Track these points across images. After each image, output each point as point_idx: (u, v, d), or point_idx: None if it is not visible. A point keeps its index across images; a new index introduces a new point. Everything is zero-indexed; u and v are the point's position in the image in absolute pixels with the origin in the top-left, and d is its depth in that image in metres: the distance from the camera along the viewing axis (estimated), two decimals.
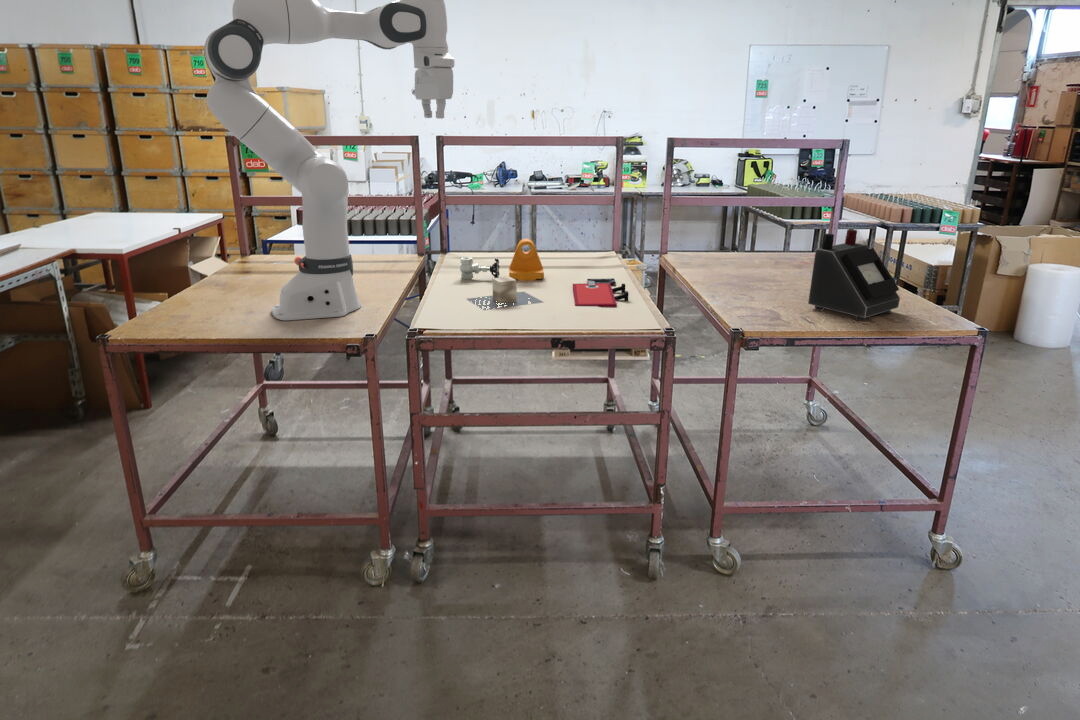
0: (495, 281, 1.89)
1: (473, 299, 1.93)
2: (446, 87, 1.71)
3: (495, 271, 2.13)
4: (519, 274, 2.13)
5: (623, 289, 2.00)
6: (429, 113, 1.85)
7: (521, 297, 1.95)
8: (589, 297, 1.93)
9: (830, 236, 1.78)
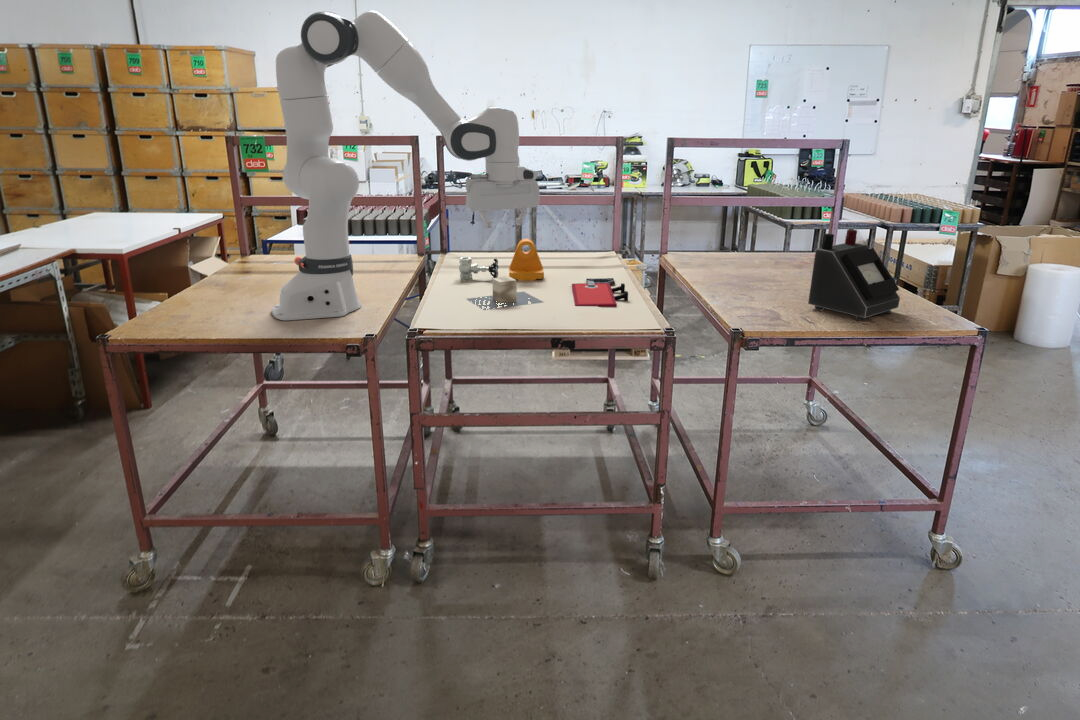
0: (495, 281, 1.89)
1: (473, 299, 1.93)
2: None
3: (494, 271, 2.13)
4: (519, 274, 2.13)
5: (622, 289, 2.00)
6: None
7: (521, 297, 1.95)
8: (588, 297, 1.93)
9: (830, 236, 1.78)
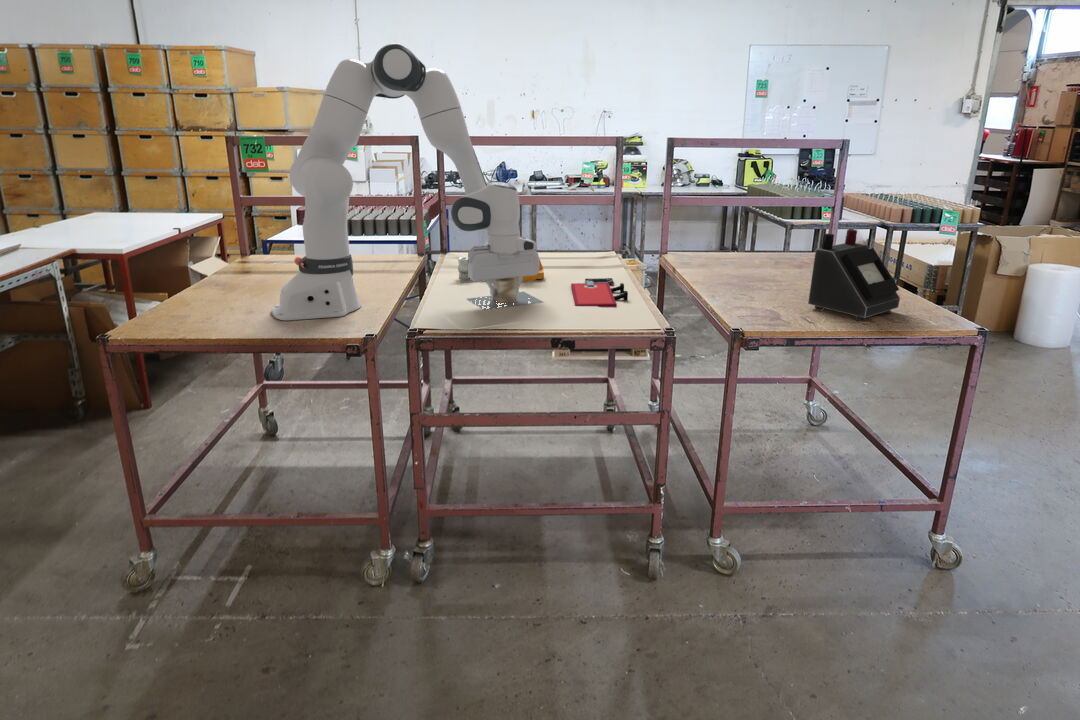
0: (495, 281, 1.89)
1: (473, 299, 1.93)
2: None
3: None
4: None
5: (622, 289, 2.00)
6: None
7: (521, 297, 1.95)
8: (588, 297, 1.93)
9: (830, 236, 1.78)
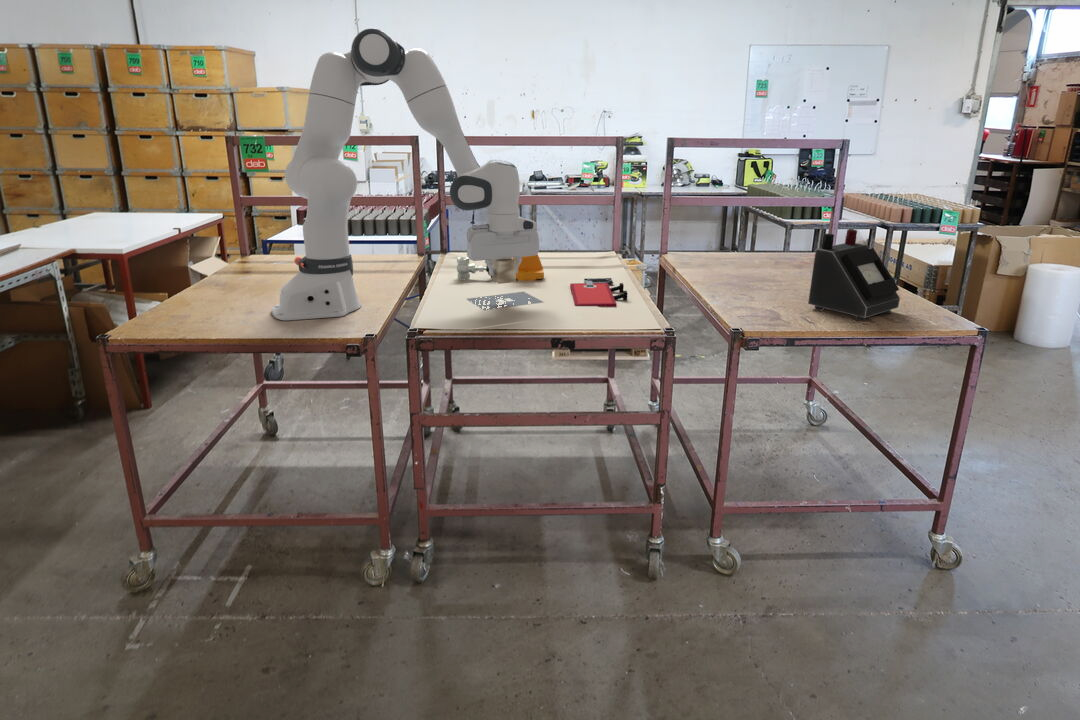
0: (494, 261, 1.87)
1: (473, 299, 1.93)
2: None
3: None
4: (519, 274, 2.13)
5: (621, 288, 2.01)
6: None
7: (521, 297, 1.95)
8: (588, 297, 1.94)
9: (830, 236, 1.78)
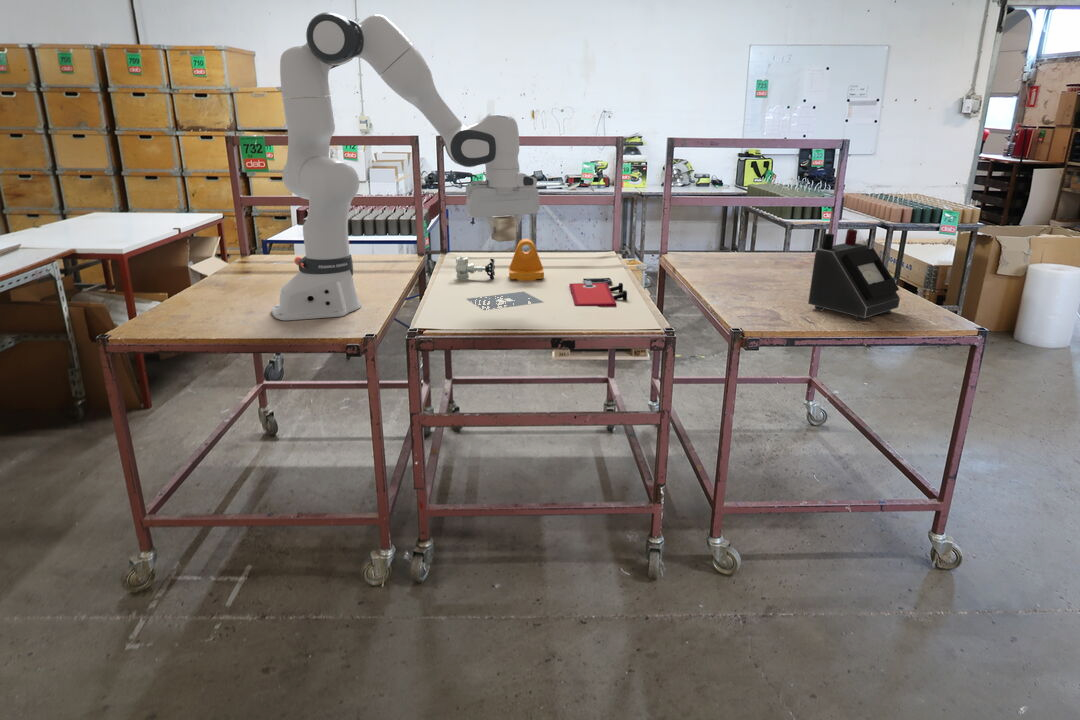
0: (494, 219, 1.83)
1: (473, 299, 1.93)
2: None
3: (491, 271, 2.13)
4: (519, 274, 2.13)
5: (621, 288, 2.01)
6: None
7: (521, 297, 1.95)
8: (587, 297, 1.94)
9: (830, 236, 1.78)
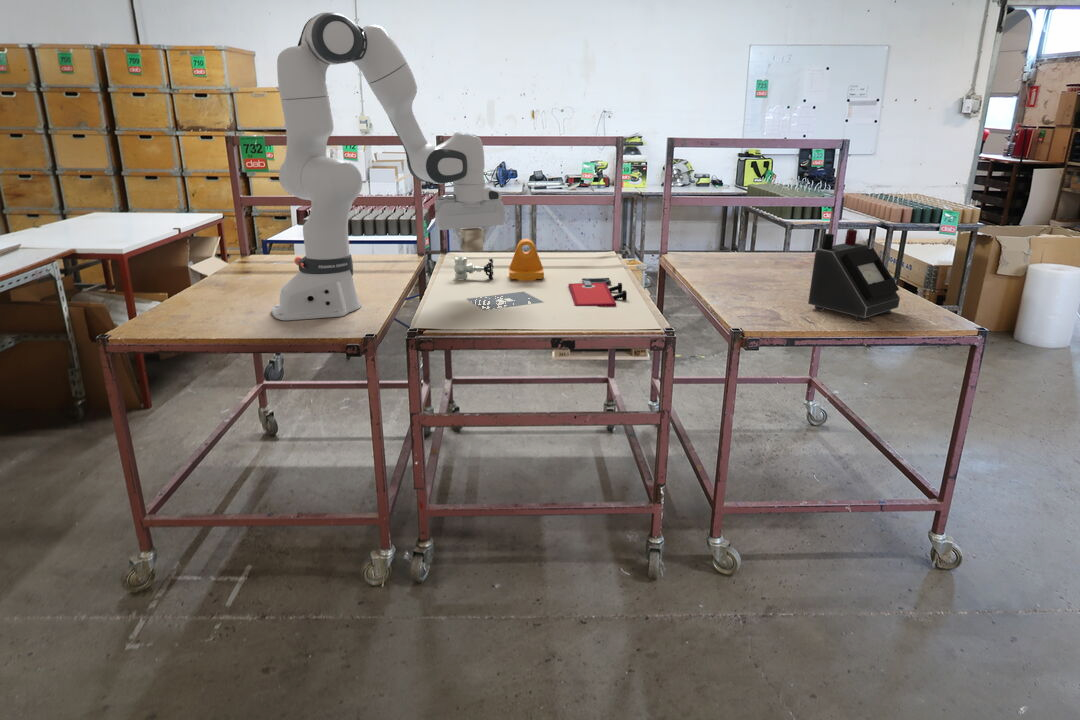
0: (462, 230, 1.95)
1: (473, 299, 1.93)
2: None
3: (489, 271, 2.13)
4: (519, 274, 2.13)
5: (620, 288, 2.01)
6: None
7: (521, 297, 1.95)
8: (587, 297, 1.94)
9: (830, 236, 1.78)
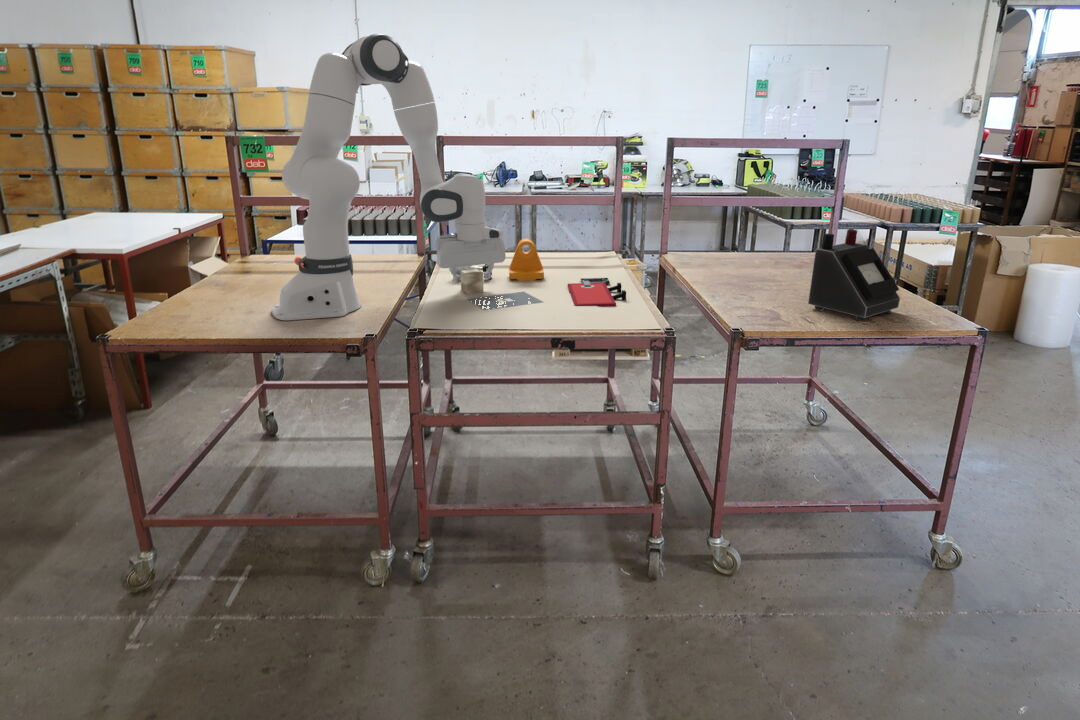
0: (463, 273, 1.99)
1: (473, 299, 1.93)
2: None
3: None
4: (519, 274, 2.13)
5: (619, 288, 2.01)
6: None
7: (521, 297, 1.95)
8: (587, 297, 1.94)
9: (830, 236, 1.78)
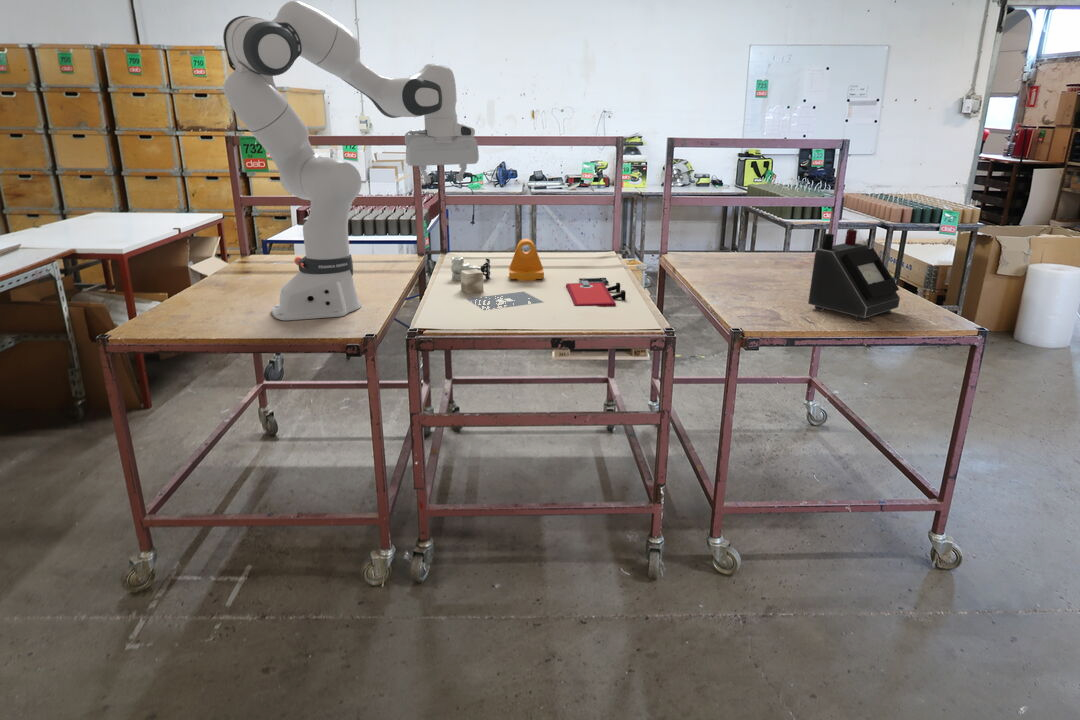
0: (463, 273, 1.99)
1: (473, 299, 1.93)
2: None
3: (486, 271, 2.13)
4: (519, 274, 2.13)
5: (618, 288, 2.01)
6: None
7: (521, 297, 1.95)
8: (586, 297, 1.94)
9: (830, 236, 1.78)
